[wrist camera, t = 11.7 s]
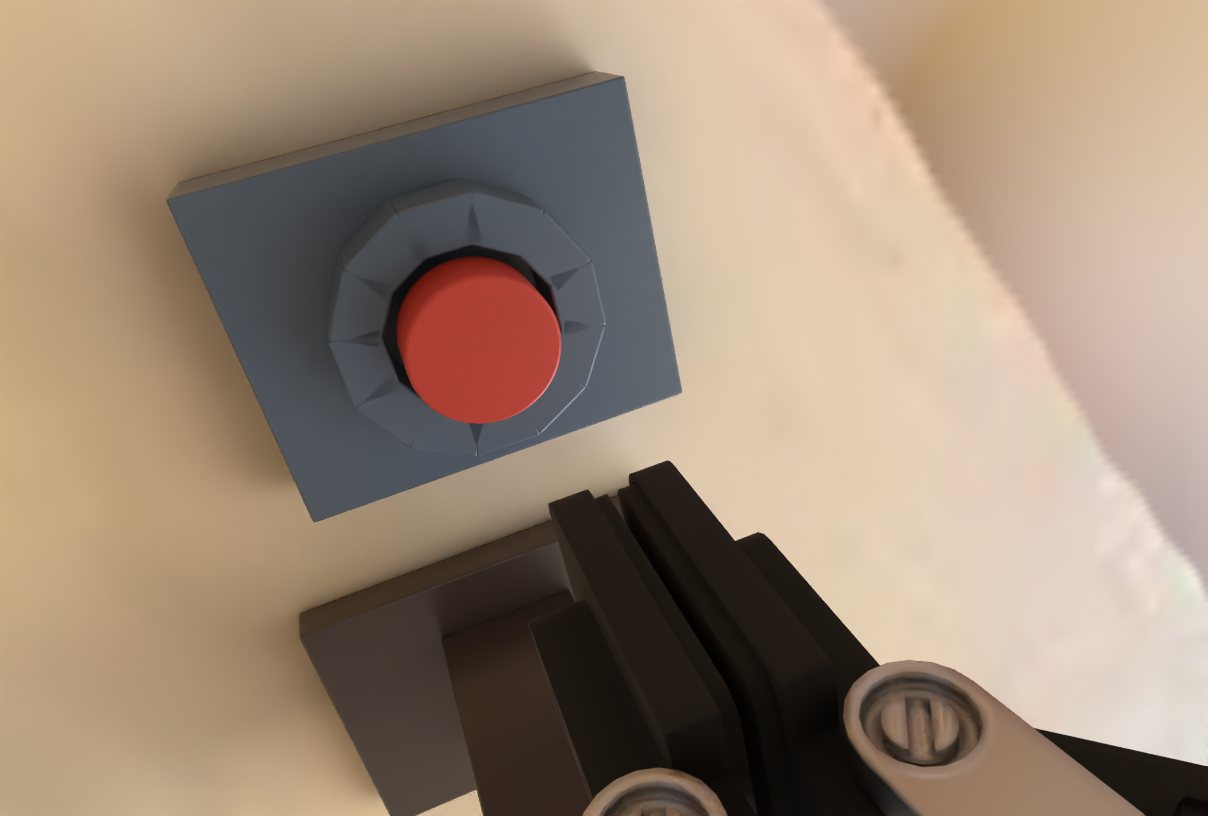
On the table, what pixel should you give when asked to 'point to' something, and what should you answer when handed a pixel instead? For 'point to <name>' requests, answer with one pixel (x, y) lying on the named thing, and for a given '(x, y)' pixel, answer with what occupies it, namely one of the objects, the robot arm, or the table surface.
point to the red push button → (477, 340)
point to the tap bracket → (454, 680)
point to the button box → (414, 246)
